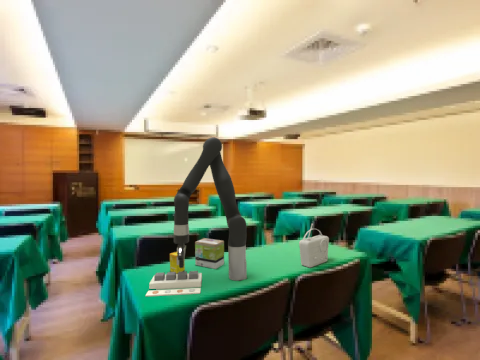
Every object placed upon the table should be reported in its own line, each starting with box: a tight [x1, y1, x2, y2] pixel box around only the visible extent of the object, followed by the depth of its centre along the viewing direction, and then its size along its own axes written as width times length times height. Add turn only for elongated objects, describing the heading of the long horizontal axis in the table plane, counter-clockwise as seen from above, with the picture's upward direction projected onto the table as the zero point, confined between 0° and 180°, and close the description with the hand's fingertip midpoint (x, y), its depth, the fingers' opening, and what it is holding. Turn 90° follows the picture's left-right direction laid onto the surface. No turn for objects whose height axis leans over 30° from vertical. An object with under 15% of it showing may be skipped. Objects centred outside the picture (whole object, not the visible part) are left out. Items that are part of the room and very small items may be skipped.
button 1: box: [188, 270, 199, 279], centre depth 138 cm, size 4×4×3 cm
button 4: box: [153, 272, 166, 281], centre depth 137 cm, size 4×4×3 cm
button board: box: [148, 272, 203, 290], centre depth 138 cm, size 25×11×3 cm, turn 95°
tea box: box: [194, 237, 225, 270], centre depth 165 cm, size 15×10×15 cm
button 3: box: [165, 271, 176, 280], centre depth 137 cm, size 4×4×3 cm
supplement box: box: [169, 250, 186, 274], centre depth 154 cm, size 6×6×11 cm
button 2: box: [178, 270, 188, 280], centre depth 138 cm, size 4×4×3 cm
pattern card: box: [145, 287, 202, 297], centre depth 128 cm, size 25×5×1 cm, turn 95°
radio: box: [298, 223, 330, 269], centre depth 164 cm, size 22×8×25 cm, turn 129°
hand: (181, 267), depth 138 cm, fingers closed
